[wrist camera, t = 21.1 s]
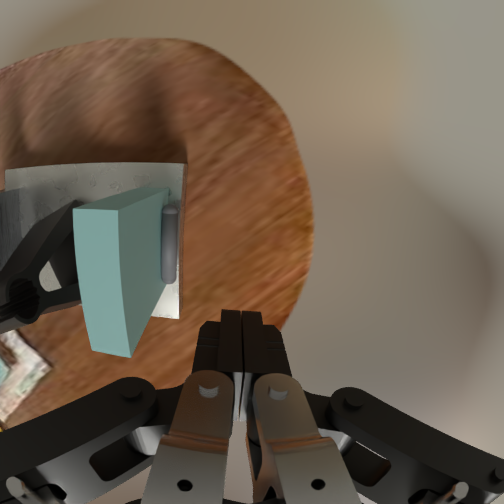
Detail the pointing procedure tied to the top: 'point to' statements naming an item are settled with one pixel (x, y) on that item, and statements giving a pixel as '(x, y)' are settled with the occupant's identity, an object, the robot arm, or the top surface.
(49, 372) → the top surface
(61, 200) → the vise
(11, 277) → the phone stand
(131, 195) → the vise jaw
